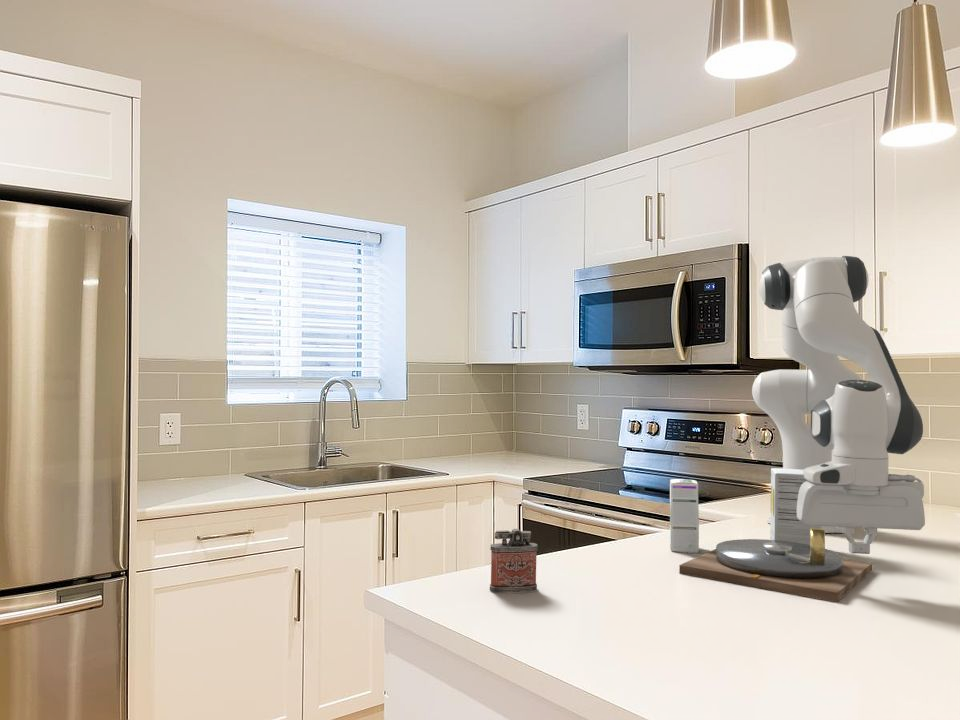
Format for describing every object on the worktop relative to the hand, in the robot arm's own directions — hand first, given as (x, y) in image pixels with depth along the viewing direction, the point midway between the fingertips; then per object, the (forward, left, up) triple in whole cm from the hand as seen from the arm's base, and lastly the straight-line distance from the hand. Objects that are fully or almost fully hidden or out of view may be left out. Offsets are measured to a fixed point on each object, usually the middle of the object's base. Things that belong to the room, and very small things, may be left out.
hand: (859, 553), depth 131 cm
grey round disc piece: (-2, -14, -4) cm, 15 cm away
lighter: (+41, -44, -6) cm, 61 cm away
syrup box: (-8, -35, -6) cm, 37 cm away
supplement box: (-24, -17, -6) cm, 30 cm away
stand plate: (-2, -14, -6) cm, 16 cm away
